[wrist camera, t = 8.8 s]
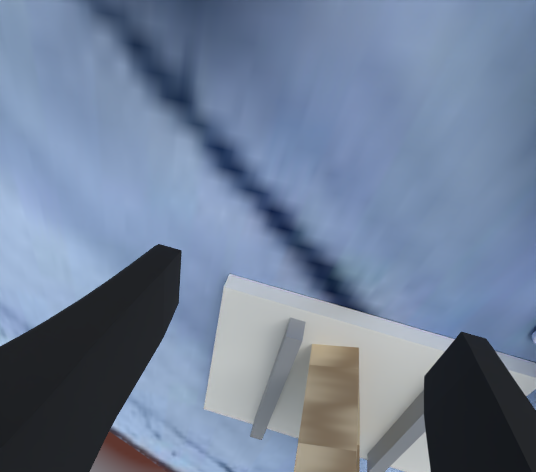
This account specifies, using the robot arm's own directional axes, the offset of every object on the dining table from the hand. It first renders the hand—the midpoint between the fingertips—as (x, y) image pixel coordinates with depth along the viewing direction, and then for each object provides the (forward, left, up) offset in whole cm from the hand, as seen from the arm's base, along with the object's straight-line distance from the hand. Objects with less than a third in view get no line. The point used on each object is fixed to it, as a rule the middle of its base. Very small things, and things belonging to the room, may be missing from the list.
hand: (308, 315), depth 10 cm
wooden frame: (-6, +18, -9) cm, 21 cm away
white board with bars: (-6, +18, -10) cm, 22 cm away
